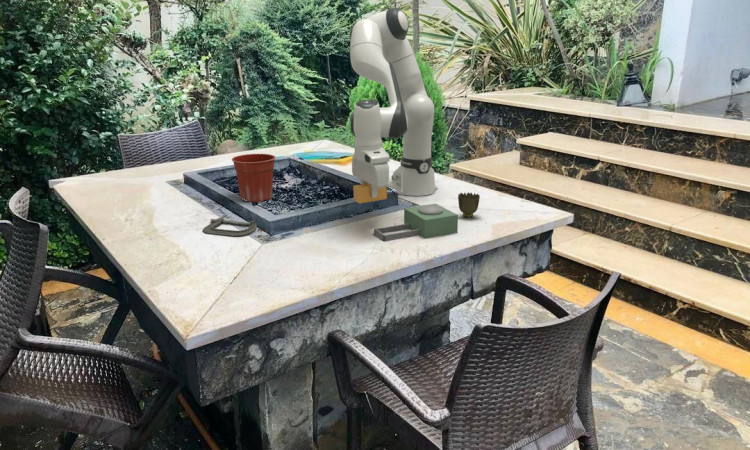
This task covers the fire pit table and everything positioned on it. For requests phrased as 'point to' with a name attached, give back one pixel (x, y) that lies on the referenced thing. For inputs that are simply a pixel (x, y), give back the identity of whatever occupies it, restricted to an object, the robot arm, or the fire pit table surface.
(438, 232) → the box with open drawer
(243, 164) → the flower pot
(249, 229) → the c clamp
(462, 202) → the cup
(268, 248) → the fire pit table surface
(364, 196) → the orange rectangular block
